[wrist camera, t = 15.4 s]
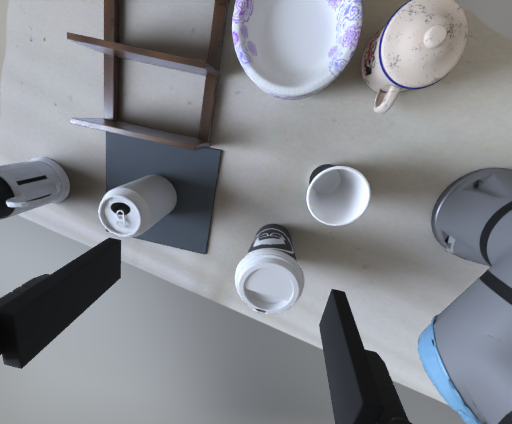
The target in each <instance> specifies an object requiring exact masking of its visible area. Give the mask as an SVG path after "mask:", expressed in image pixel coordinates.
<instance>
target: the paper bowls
mask: <svg viewBox="0 0 512 424" xmlns="http://www.w3.org/2000/svg"><path fill="white" fill-rule="evenodd" d="M362 20H363V8H362V0H236V3H235V7H234V12H233V19H232V36H233V42H234V47H235V51H236V54H237V57H238V59H239V62H240V63H241V66H242V67H243V69H244V70H245V72H246V73H247V75H248V76H249V77H250V78H251V80H252V81H253V82H254V83H255V84H256V85H257V86H258V87H259V88H261V89H262V90H263V91H265V92H266V93H268V94H270V95H272V96H275V97H278V98H282V99H289V100H297V99H302V98H306V97H309V96H311V95H314V94H316V93H318V92H319V91H321V90H322V89H324V88H325V87H327V86H328V85H329V84H330V83H332V82H333V81H334V80H335V79H336V78H337V77H338V75H339V74H340V73H341V72H342V71H343V70H344V68H345V67H346V66H347V64H348V63H349V61H350V59H351V57H352V56H353V54H354V52H355V49H356V47H357V44H358V41H359V37H360V34H361V28H362Z"/></svg>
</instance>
